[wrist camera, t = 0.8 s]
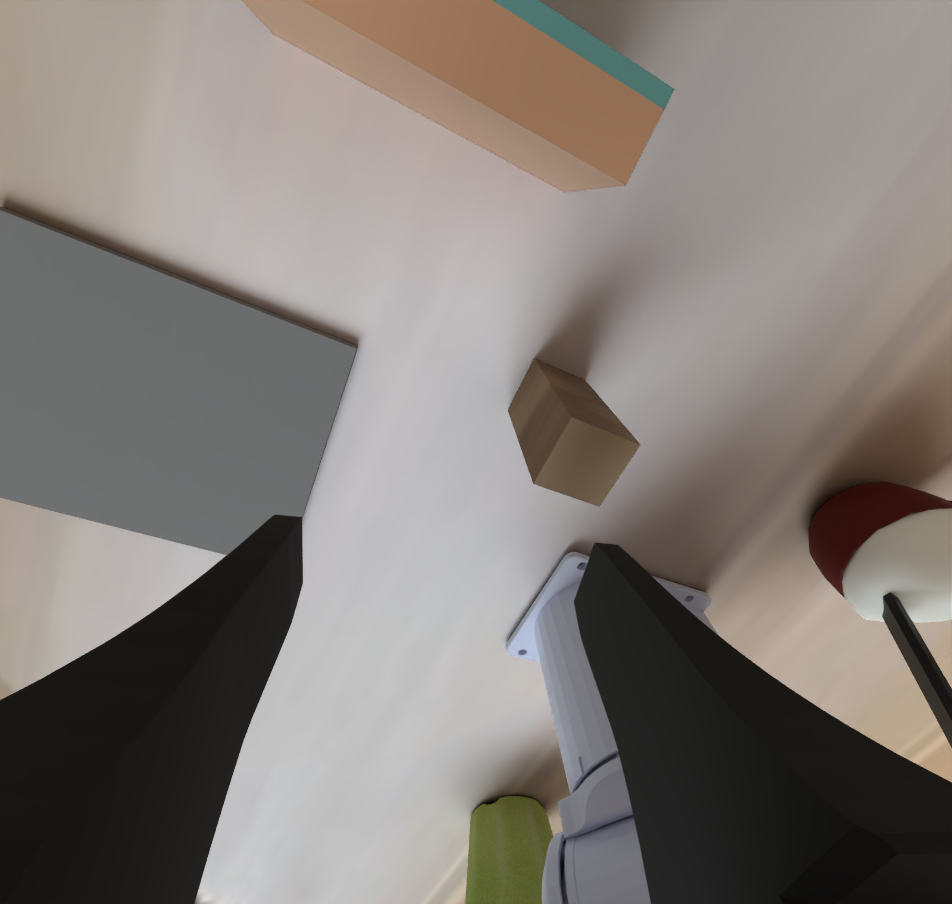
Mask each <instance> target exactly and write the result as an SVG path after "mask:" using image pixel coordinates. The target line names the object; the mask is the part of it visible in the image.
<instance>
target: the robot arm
mask: <svg viewBox="0 0 952 904" xmlns="http://www.w3.org/2000/svg"><path fill="white" fill-rule="evenodd" d="M582 562H583V564H582V565H578V564H580V563H582ZM302 584H303V557H302V517H297V516H286V515H273V516H272V517H271V518H269V519H268V520H267V521H266V522H265V523H264V524H262V525H261V526H260V527H259V528H258V529H257V530H256V531H255V532H253V533H252V534H251V535H250V536H249V537H248V538H247V539H245V540H244V541H243V542H242V543H241V544H240V545H238V546H237V547H236V548H235V549H234V550H233V551H231V552H230V553H229V554H228V555H227V556H225V557H224V558H223V559H222V560H221V561H219V562H218V563H217V564H216V565H214V566H213V567H212V568H211V569H210V570H208V571H207V572H206V573H205V574H203V575H202V576H201V577H200V578H198V579H197V580H196V581H194V582H193V583H192V584H190V585H189V586H188V587H186V588H185V589H184V590H182V591H181V592H179V593H178V594H177V595H175V596H174V597H173V598H171V599H170V600H169V601H167V602H166V603H165V604H163V605H162V606H160V607H159V608H158V609H156V610H155V611H153V612H152V613H150V614H149V615H147V616H146V617H144V618H143V619H141V620H140V621H138V622H137V623H135V624H134V625H132V626H131V627H129V628H128V629H126V630H125V631H123V632H121V633H120V634H118V635H117V636H115V637H114V638H112V639H110V640H109V641H107V642H105V643H104V644H102V645H100V646H99V647H97V648H95V649H93V650H91V651H90V652H88V653H86V654H84V655H83V656H81V657H79V658H77V659H76V660H74V661H72V662H70V663H69V664H67V665H65V666H63V667H62V668H60V669H58V670H56V671H54V672H53V673H51V674H49V675H47V676H46V677H44V678H42V679H40V680H38V681H36V682H35V683H33V684H31V685H29V686H27V687H25V688H23V689H21V690H19V691H17V692H15V693H13V694H11V695H9V696H7V697H6V698H4V699H2V700H0V904H194V903H195V899H196V896H197V892H198V889H199V885H200V882H201V878H202V875H203V871H204V868H205V865H206V861H207V858H208V854H209V851H210V847H211V844H212V841H213V837H214V834H215V831H216V827H217V824H218V821H219V817H220V814H221V811H222V808H223V804H224V801H225V798H226V794H227V791H228V788H229V785H230V782H231V778H232V775H233V772H234V769H235V766H236V763H237V759H238V756H239V753H240V750H241V747H242V744H243V741H244V738H245V735H246V733H247V730H248V727H249V725H250V722H251V719H252V717H253V714H254V712H255V710H256V707H257V705H258V702H259V700H260V698H261V695H262V693H263V690H264V688H265V686H266V683H267V681H268V678H269V676H270V674H271V671H272V669H273V667H274V664H275V662H276V659H277V657H278V655H279V652H280V650H281V647H282V645H283V642H284V640H285V638H286V635H287V633H288V630H289V628H290V625H291V623H292V619H293V616H294V612H295V609H296V606H297V602H298V598H299V595H300V591H301V587H302ZM710 603H711V598H710V597H709V595H708V594H707V593H705V592H702V591H699V590H696V589H693V588H690V587H686V586H683V585H680V584H677V583H674V582H670V581H667V580H664V579H661V578H658V577H654V576H651V575H650V574H649V573H648V572H647V571H646V570H645V569H644V568H643V567H642V566H641V565H640V564H638V563H637V562H636V561H635V560H634V559H633V558H632V557H631V556H630V555H629V554H628V553H626V552H625V551H624V550H623V549H622V548H621V547H619V546H618V545H614V544H603V543H595V544H594V546H593V549H592V552H591V555H590V556H587V555H584V554H581V553H578V552H570V553H568V554H566V555H565V556H564V558H563V559H562V561H561V562H560V564H559V565H558V567H557V568H556V570H555V571H554V573H553V574H552V576H551V577H550V579H549V580H548V582H547V583H546V585H545V586H544V588H543V589H542V591H541V592H540V594H539V595H538V597H537V598H536V600H535V601H534V603H533V604H532V606H531V607H530V609H529V610H528V612H527V613H526V615H525V616H524V618H523V619H522V621H521V622H520V624H519V625H518V627H517V628H516V630H515V631H514V633H513V634H512V636H511V637H510V639H509V640H508V642H507V643H506V652H507V653H508V654H509V655H511V656H515V657H520V658H524V659H528V660H532V661H537V662H540V663H541V667H542V672H543V676H544V681H545V685H546V689H547V694H548V698H549V703H550V707H551V712H552V716H553V720H554V725H555V729H556V734H557V738H558V742H559V747H560V751H561V756H562V760H563V764H564V769H565V773H566V778H567V782H568V786H569V791H570V795H569V796H568V797H566V798H564V799H562V800H560V801H559V802H558V808H559V813H560V818H561V823H562V828H563V832H560V833H558V834H556V835H555V836H554V837H553V838H552V839H551V841H550V844H549V847H548V850H547V855H546V861H545V866H544V870H543V877H542V904H952V782H950V781H948V780H946V779H944V778H942V777H940V776H938V775H936V774H934V773H932V772H931V771H929V770H927V769H925V768H923V767H921V766H919V765H917V764H915V763H913V762H911V761H909V760H908V759H906V758H904V757H902V756H900V755H898V754H896V753H894V752H893V751H891V750H889V749H887V748H886V747H884V746H882V745H880V744H879V743H877V742H875V741H873V740H872V739H870V738H868V737H867V736H865V735H863V734H861V733H860V732H858V731H856V730H854V729H853V728H851V727H849V726H848V725H846V724H844V723H843V722H841V721H840V720H838V719H836V718H835V717H833V716H831V715H830V714H828V713H826V712H825V711H823V710H822V709H820V708H819V707H817V706H816V705H814V704H813V703H811V702H809V701H808V700H806V699H805V698H803V697H802V696H800V695H799V694H797V693H796V692H794V691H793V690H791V689H790V688H788V687H787V686H785V685H784V684H782V683H781V682H779V681H778V680H777V679H775V678H774V677H772V676H771V675H769V674H768V673H767V672H765V671H764V670H763V669H761V668H760V667H759V666H757V665H756V664H755V663H753V662H752V661H751V660H749V659H748V658H746V657H745V656H744V655H742V654H741V653H740V652H738V651H737V650H736V649H735V648H733V647H732V646H731V645H730V644H728V643H727V642H726V641H725V640H723V639H722V638H721V637H720V636H719V635H718V634H717V632H716V631H715V629H714V628H713V626H712V625H711V623H710V622H709V620H708V619H707V617H706V616H705V614H704V613H703V612H704V610H705V609H706V608H707V607H708V606H709V605H710Z"/></svg>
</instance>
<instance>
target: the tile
mask: <svg viewBox="0 0 952 904" xmlns="http://www.w3.org/2000/svg"><path fill="white" fill-rule="evenodd" d="M241 1H242V2H243V3H244V4H245V5H246V6H247V7H248V8H249V9H250V10H251V11H252V12H253V13H254V14H255V16H256V17H257V18H258V19H259V20H260V21H261V22H262V23H263V24H264V25H265V26H266V27H267V28H268V29H269V30H270V31H271V32H272V33H273V35H275V36H277V37H278V38H280V39H282V40H284V41H286V42H288V43H290V44H291V45H293V46H295V47H297V48H299V49H301V50H302V51H304V52H306V53H308V54H310V55H312V56H314V57H315V58H317V59H319V60H321V61H323V62H325V63H326V64H328V65H330V66H332V67H334V68H336V69H338V70H339V71H341V72H343V73H345V74H347V75H349V76H350V77H352V78H354V79H356V80H358V81H360V82H362V83H363V84H365V85H367V86H369V87H371V88H373V89H374V90H376V91H378V92H380V93H382V94H384V95H385V96H387V97H389V98H391V99H393V100H395V101H397V102H398V103H400V104H402V105H404V106H406V107H408V108H409V109H411V110H413V111H415V112H417V113H419V114H421V115H422V116H424V117H426V118H428V119H430V120H432V121H433V122H435V123H437V124H439V125H441V126H443V127H445V128H446V129H448V130H450V131H452V132H454V133H456V134H457V135H459V136H461V137H463V138H465V139H467V140H469V141H470V142H472V143H474V144H476V145H478V146H480V147H481V148H483V149H485V150H487V151H489V152H491V153H492V154H494V155H496V156H498V157H500V158H502V159H504V160H505V161H507V162H509V163H511V164H513V165H515V166H516V167H518V168H520V169H522V170H524V171H526V172H528V173H529V174H531V175H533V176H535V177H537V178H539V179H540V180H542V181H544V182H546V183H548V184H550V185H552V186H553V187H555V188H557V189H559V190H561V191H563V192H573V191H581V190H590V189H598V188H607V187H615V186H624V185H626V184H627V182H628V180H629V178H630V176H631V174H632V172H633V170H634V168H635V166H636V164H637V162H638V160H639V158H640V156H641V154H642V152H643V150H644V148H645V146H646V144H647V142H648V140H649V138H650V136H651V134H652V132H653V130H654V128H655V126H656V125H657V123H658V121H659V119H660V117H661V115H662V113H663V111H664V109H665V107H666V105H667V103H668V101H669V99H670V97H671V95H672V93H673V91H674V88H672V87H670V86H669V85H667V84H666V83H664V82H663V81H661V80H660V79H658V78H657V77H655V76H654V75H652V74H651V73H649V72H648V71H646V70H645V69H643V68H641V67H640V66H638V65H637V64H635V63H634V62H632V61H631V60H629V59H628V58H626V57H625V56H623V55H622V54H620V53H619V52H617V51H616V50H614V49H613V48H611V47H609V46H608V45H606V44H605V43H603V42H602V41H600V40H599V39H597V38H596V37H594V36H593V35H591V34H590V33H588V32H587V31H585V30H584V29H582V28H580V27H579V26H577V25H576V24H574V23H573V22H571V21H570V20H568V19H567V18H565V17H564V16H562V15H561V14H559V13H558V12H556V11H555V10H553V9H551V8H550V7H548V6H547V5H545V4H544V3H542V2H541V1H539V0H241Z"/></svg>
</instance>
